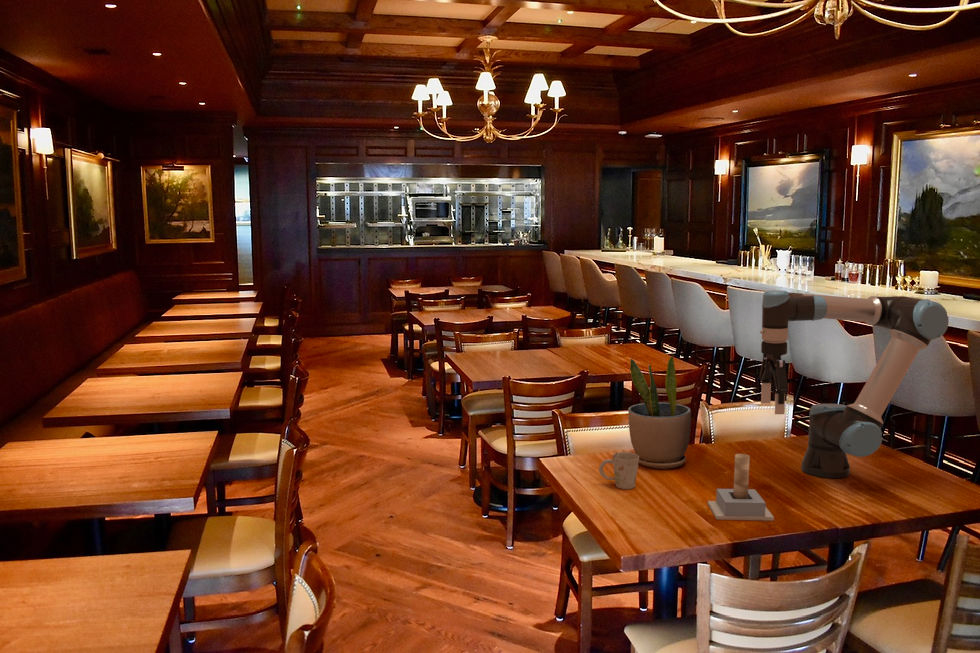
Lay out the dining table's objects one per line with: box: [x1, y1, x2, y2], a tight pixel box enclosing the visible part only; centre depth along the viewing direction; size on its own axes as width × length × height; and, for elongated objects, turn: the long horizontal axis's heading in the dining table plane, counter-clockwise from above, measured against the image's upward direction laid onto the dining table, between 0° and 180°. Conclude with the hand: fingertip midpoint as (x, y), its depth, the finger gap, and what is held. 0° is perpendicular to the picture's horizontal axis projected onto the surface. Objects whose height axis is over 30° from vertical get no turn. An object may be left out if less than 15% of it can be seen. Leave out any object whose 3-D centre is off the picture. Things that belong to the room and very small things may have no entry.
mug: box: [598, 451, 639, 490], centre depth 253 cm, size 8×13×10 cm, turn 78°
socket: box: [707, 488, 775, 522], centre depth 231 cm, size 16×12×5 cm
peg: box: [733, 453, 750, 499], centre depth 230 cm, size 4×4×16 cm
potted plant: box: [627, 354, 692, 470], centre depth 274 cm, size 21×22×40 cm
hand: (772, 408), depth 246 cm, fingers open, 13 cm apart
